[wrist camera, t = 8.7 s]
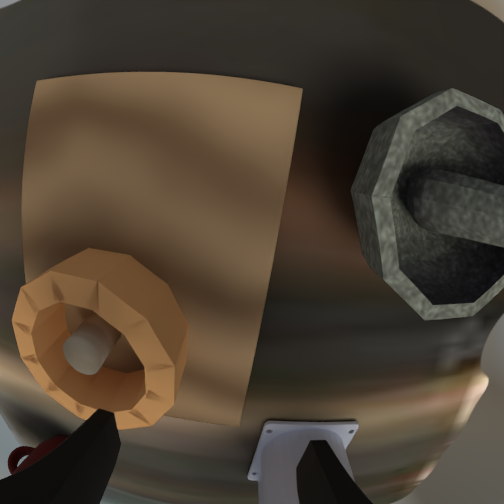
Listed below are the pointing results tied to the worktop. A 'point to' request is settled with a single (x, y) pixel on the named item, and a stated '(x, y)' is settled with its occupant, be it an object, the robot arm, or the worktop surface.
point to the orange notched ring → (119, 316)
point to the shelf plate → (165, 210)
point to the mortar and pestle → (435, 204)
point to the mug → (32, 453)
